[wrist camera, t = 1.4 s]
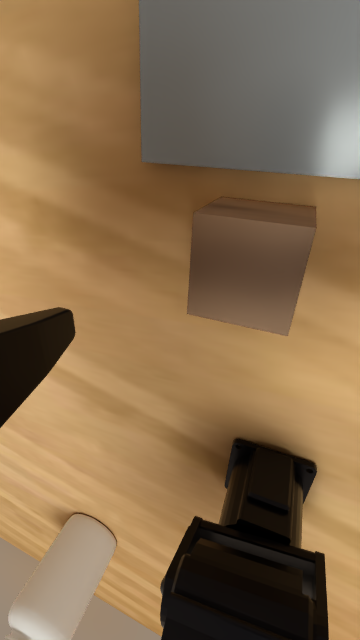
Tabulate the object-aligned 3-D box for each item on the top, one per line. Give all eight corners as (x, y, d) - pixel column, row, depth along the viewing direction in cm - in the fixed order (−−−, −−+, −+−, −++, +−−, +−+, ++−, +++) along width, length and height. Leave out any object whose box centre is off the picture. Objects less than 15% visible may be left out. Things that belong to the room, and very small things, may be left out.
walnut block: (293, 294, 19) (287, 336, 15) (213, 279, 20) (187, 313, 16) (315, 206, 16) (316, 228, 12) (221, 196, 18) (193, 212, 13)
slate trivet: (381, 179, 14) (384, 180, 14) (147, 161, 18) (141, 161, 17) (547, -305, 8) (566, -342, 8) (145, -194, 12) (135, -214, 11)
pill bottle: (126, 539, 42) (50, 699, 30) (107, 553, 47) (34, 696, 35) (79, 504, 43) (-16, 649, 30) (64, 521, 47) (-23, 653, 35)
